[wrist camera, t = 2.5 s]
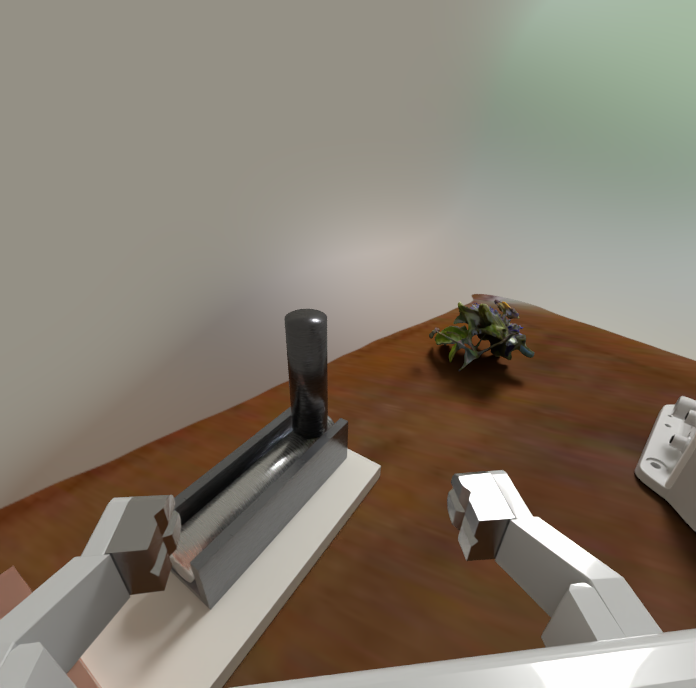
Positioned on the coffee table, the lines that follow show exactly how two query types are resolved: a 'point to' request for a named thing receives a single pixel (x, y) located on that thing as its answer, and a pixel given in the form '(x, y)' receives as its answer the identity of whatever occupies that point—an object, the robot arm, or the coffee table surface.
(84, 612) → the robot arm
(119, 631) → the base board
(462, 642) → the coffee table surface
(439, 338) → the passion flower
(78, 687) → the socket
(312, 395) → the slide bolt
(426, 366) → the coffee table surface
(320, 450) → the grey guide channel
